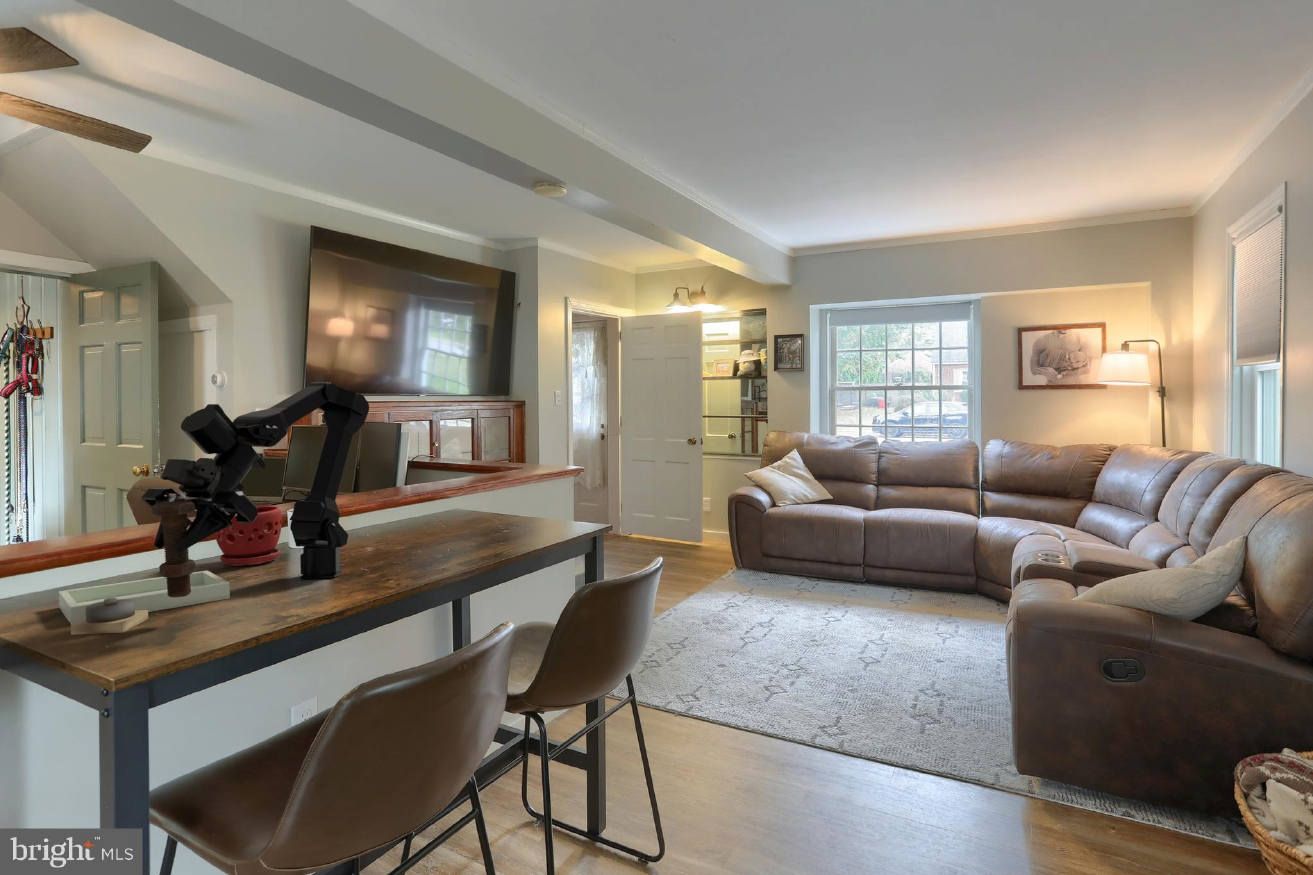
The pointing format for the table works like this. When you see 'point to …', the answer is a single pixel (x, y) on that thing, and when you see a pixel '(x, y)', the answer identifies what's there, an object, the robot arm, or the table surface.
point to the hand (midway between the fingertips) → (168, 548)
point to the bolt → (175, 546)
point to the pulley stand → (109, 617)
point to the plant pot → (251, 539)
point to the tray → (144, 594)
